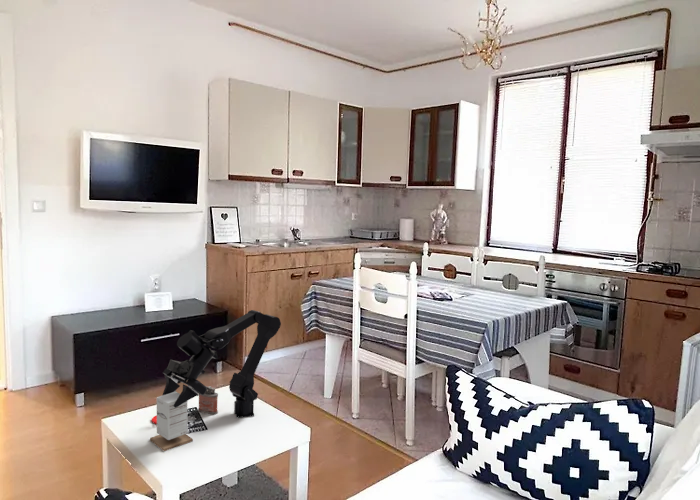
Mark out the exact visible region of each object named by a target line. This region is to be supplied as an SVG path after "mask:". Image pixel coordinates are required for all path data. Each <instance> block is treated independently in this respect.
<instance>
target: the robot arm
mask: <svg viewBox="0 0 700 500" xmlns="http://www.w3.org/2000/svg"><path fill="white" fill-rule="evenodd" d="M255 324H257V326H256V332H257V333H256V334H257V335H256V338H255V340H254V342H253V344H252V346H251V348H250V351H249V353H248V355H247V358H246V360H245V362H244V364H243V366H242V368H241V370H240V371H239V372H237V373H236V372H234V373H233V374H232V377H231V379H230V381H229V382H228V383H229V385H228V386H229V387H228V389H229V391H230V393H231V395H232V397H234V398H235V401H234V402H233V403H234V404H233V412H234V415H236V417H235V418H238V419H239V418H247V417H255V412H254V406H255V405H254V402H255V401H256V400H258V396H259V393H258V392H257V391H256V390H254V385H255V376H254V375H255V373H256V371H257V368H258V366H259V364H260V362H261V359H262V357H263V355H264V352H266V351H265V350H266V349H267V346H268V343H269V341H270V340H271V339H272V338H274V336H276V335H277V333H278V332H279V330H280V328H281V326H282V322H281V320H280V318H279V317H278V316H275V315H270V314H264V313H262V312H261V311H259V310H255V309H251V310H249V311H248V312H247V313H245V314H244V315H241V316H240V317H238V318H237V319H234V320H233V321H231V322H229V323H228V324H226V325H222V326H219V327H215V328H212V329H209V330H207V331H206V332H205V333H204V334H202V335H198V334H197V333H196V332H195V331H194V330H191V329H190V330H189V331H188V332H186V333H184V334H182V335H181V336H180V337H179V339H177V342H176V346H177V347H178V348H179V349H180V350H182V351H183V352H184V353H185V354H186V355H188V356H190V358H189V359H185V360H184V361H183V360H182V361H178V360H173V359H170V360H169V363H168V366H167V367H165V369H164V370H163V372H162V374H164V378H165V381H166V382H165V387H164V389H163V392H162V395H166V394H169V393H172V392H174V391H175V390H176V391H177V389H179V388H180V387H181V385H180V384H181V383H182V389H181V390H182V391H181V393H179V394H180V395H179V397H178V399H177V400H176V402H175V404H174V405H173V406H174V407H175V408H176V407H178V406H180V405H181V404H183V403H184V402H186V401H187V402H188V401H189V400H192V399H193V398H196V397H199V394H201V395H204V394H205V392H206V391H207V387H208V386H207V385H205V384H203V383H202V382H201V381H200V380H198V378H199V377H200V375H204V374H205V372H206V371H205V368H206V367H207V365H208V364H209V362H210V361H211V360H212V359H215V360H218V359H219V358H218V351H217V350H221V349H223V348H224V347H225V346H226V345H228V344H229V343H230V341H231V339H232V338H234V337H235V336H237V335H238V334H240V333H241V332H243V331H244V330H246V329H248V328H249V327H252V326H253V325H255ZM211 348H213V349H214V350H212V349H211ZM215 349H216V350H215ZM206 386H207V387H206ZM198 393H199V394H198Z"/></svg>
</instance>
